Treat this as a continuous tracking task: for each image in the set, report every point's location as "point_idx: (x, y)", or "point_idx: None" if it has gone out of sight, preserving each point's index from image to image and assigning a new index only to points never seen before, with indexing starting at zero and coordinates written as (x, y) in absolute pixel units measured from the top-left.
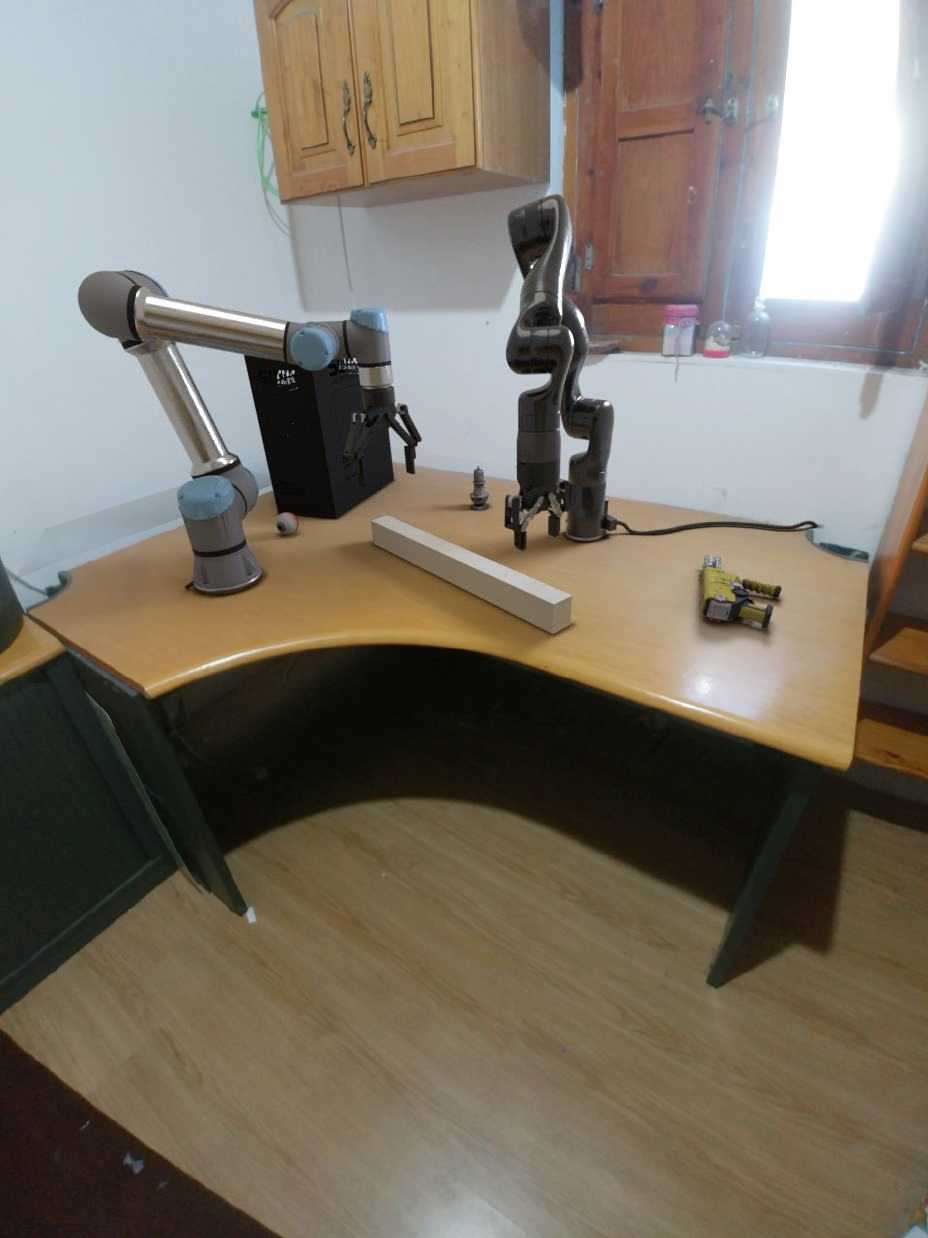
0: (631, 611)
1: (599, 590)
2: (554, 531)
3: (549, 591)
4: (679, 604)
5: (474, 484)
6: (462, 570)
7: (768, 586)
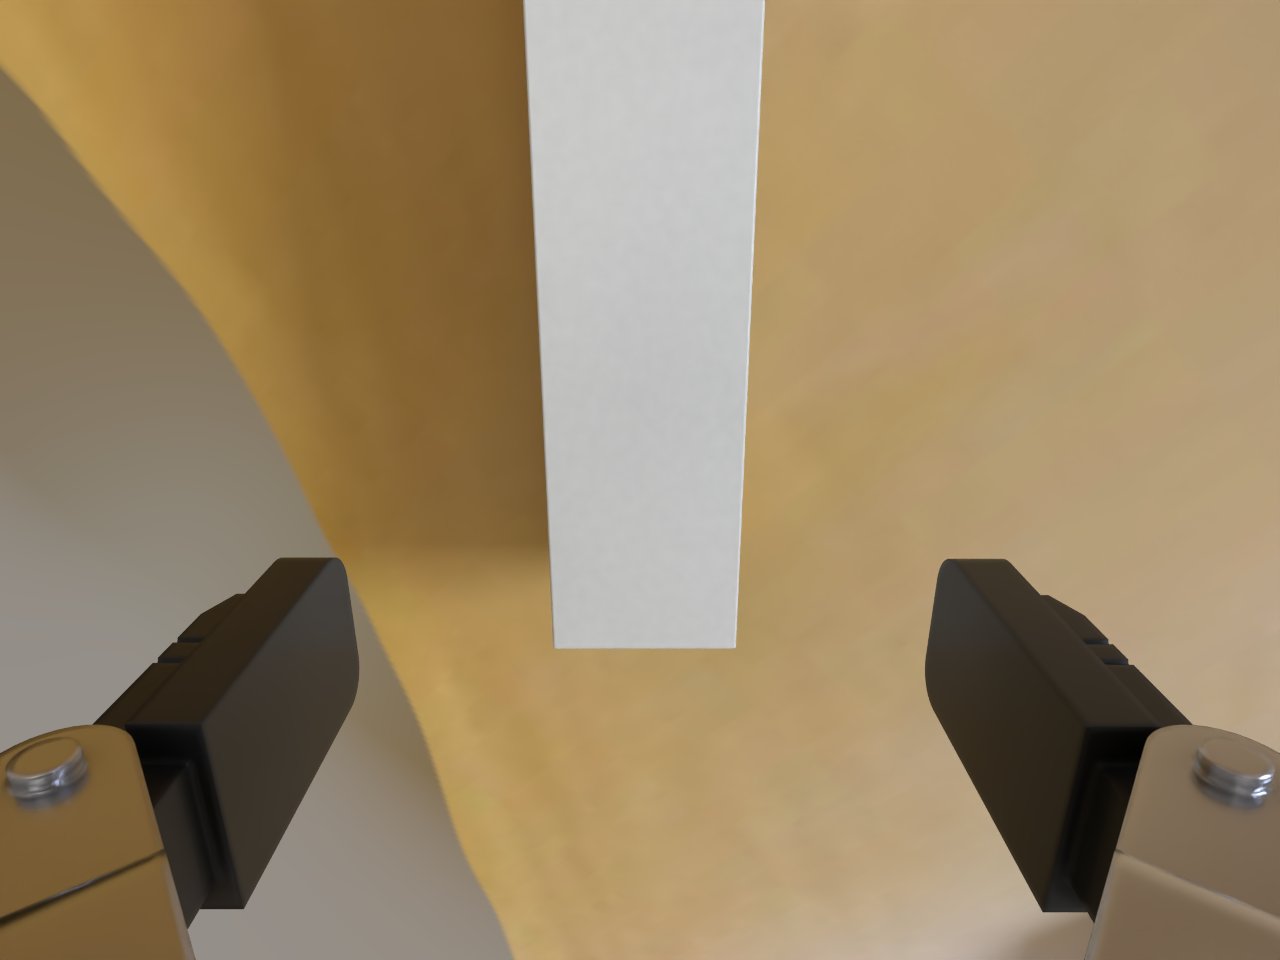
0: None
1: (1184, 398)
2: (957, 702)
3: (669, 514)
4: None
5: None
6: None
7: None
